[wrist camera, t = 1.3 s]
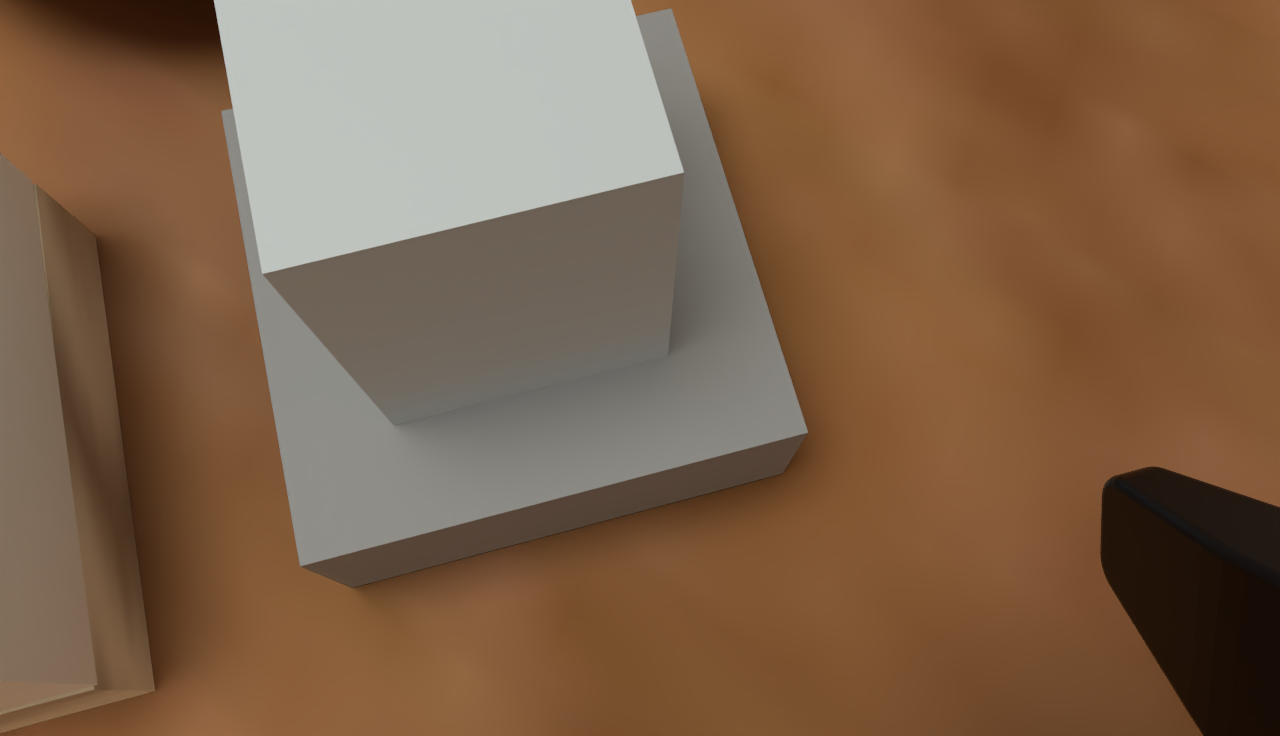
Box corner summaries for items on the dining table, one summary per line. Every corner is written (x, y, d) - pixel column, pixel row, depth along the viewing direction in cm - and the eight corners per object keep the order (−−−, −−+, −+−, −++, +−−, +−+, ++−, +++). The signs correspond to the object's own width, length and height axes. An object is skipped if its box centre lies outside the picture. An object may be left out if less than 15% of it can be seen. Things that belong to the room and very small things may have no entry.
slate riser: (782, 473, 22) (808, 432, 19) (352, 587, 22) (299, 566, 18) (666, 102, 25) (671, 8, 22) (278, 193, 24) (221, 111, 21)
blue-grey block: (668, 355, 19) (684, 171, 13) (393, 425, 19) (262, 273, 12) (598, 117, 21) (581, -160, 14) (342, 177, 20) (199, -79, 14)
